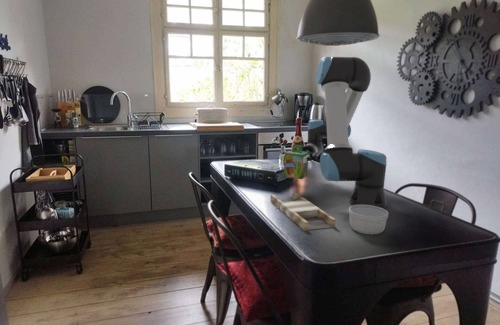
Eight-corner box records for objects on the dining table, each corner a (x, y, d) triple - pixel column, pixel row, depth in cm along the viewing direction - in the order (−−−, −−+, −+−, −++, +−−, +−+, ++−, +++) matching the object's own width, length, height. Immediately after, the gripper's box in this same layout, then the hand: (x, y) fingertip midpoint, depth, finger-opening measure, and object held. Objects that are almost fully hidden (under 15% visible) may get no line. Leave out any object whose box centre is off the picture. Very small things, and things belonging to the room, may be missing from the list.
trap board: (270, 201, 150) (270, 194, 150) (295, 199, 154) (295, 192, 153) (304, 230, 120) (305, 222, 119) (335, 227, 123) (335, 219, 123)
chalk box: (283, 177, 159) (284, 145, 156) (288, 173, 168) (289, 143, 165) (302, 179, 156) (304, 147, 153) (307, 175, 164) (309, 144, 161)
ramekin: (342, 222, 129) (343, 204, 127) (376, 221, 130) (378, 203, 128) (355, 236, 116) (357, 217, 114) (393, 236, 117) (395, 217, 115)
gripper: (329, 161, 172) (316, 170, 152) (287, 157, 181) (270, 164, 162) (330, 146, 170) (317, 153, 150) (288, 142, 180) (271, 148, 160)
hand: (293, 159), depth 156 cm, fingers closed on chalk box, 9 cm apart
